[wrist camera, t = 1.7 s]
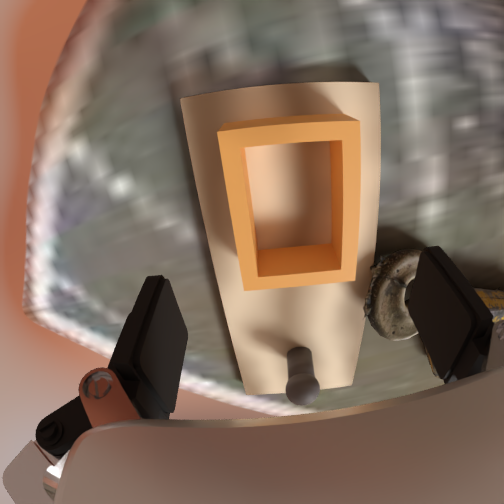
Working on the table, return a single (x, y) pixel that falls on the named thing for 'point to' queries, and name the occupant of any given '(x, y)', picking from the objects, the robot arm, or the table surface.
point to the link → (342, 201)
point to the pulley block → (396, 309)
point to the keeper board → (288, 233)
